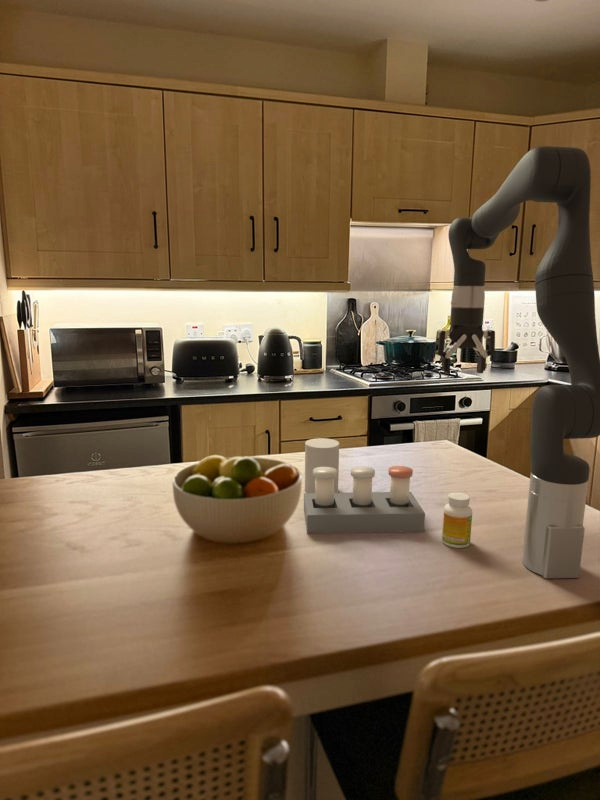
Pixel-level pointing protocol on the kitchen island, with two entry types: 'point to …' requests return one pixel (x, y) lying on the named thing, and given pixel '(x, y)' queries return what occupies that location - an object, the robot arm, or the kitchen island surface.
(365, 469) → the mid plunger
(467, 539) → the supplement bottle
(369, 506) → the panel
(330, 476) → the far plunger
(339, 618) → the kitchen island surface
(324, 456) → the white cylinder
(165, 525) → the kitchen island surface
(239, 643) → the kitchen island surface
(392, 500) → the red plunger
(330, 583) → the kitchen island surface
